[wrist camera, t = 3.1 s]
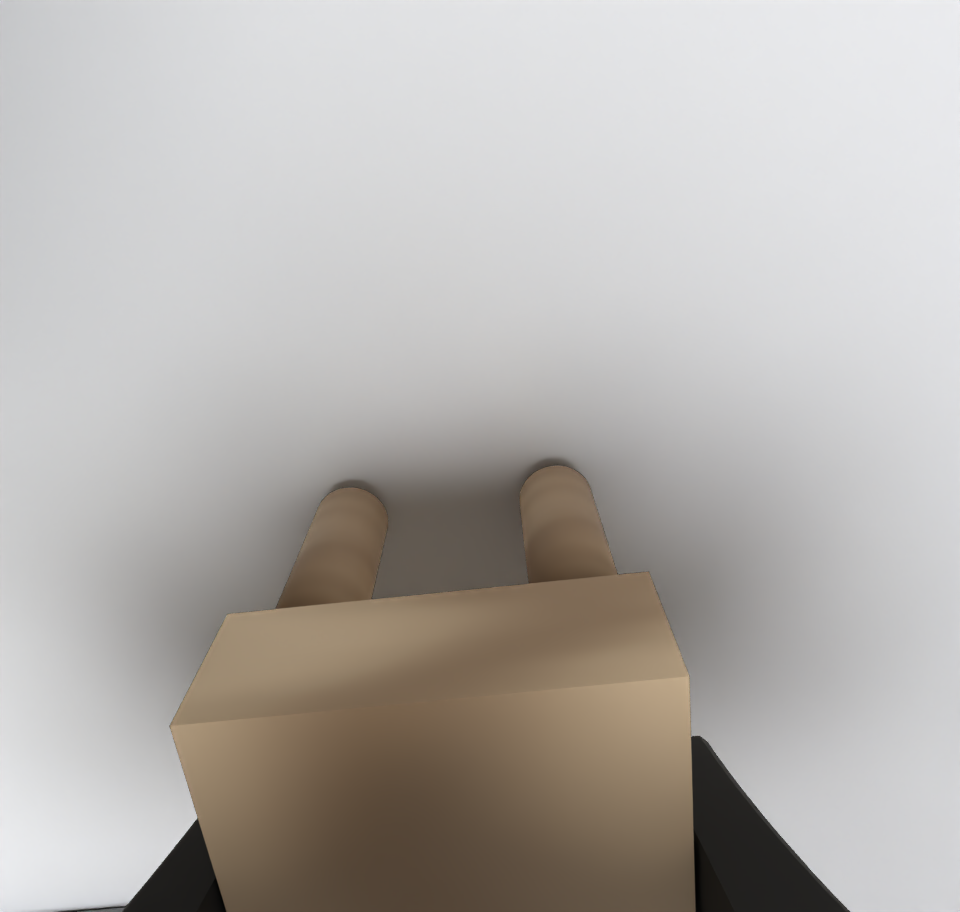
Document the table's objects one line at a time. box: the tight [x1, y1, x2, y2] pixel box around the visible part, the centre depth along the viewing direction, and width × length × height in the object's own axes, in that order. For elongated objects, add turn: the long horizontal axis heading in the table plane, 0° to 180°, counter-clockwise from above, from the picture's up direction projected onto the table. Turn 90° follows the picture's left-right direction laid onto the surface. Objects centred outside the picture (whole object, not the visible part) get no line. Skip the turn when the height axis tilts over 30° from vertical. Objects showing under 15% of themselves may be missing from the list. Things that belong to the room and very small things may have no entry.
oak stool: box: [170, 466, 696, 912], centre depth 12 cm, size 5×7×6 cm
